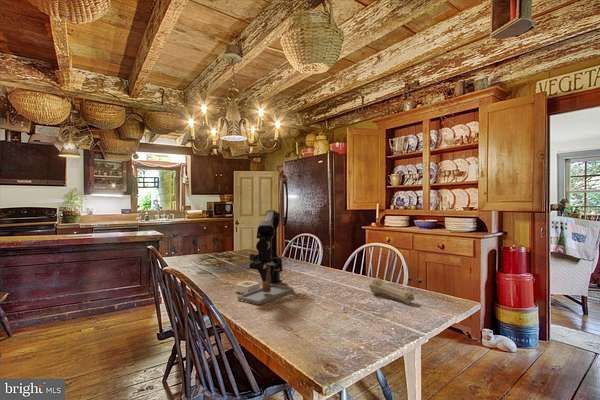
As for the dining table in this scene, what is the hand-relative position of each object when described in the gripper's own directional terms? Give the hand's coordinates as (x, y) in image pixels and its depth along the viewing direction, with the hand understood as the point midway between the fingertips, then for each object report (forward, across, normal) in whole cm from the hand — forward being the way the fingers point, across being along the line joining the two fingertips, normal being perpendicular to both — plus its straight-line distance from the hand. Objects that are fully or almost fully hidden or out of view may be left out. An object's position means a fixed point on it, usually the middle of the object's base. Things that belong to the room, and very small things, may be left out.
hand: (266, 280), depth 154 cm
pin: (+6, 0, 0) cm, 6 cm away
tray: (+8, 0, 0) cm, 8 cm away
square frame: (+8, 0, -13) cm, 15 cm away
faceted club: (+8, -28, +54) cm, 61 cm away
